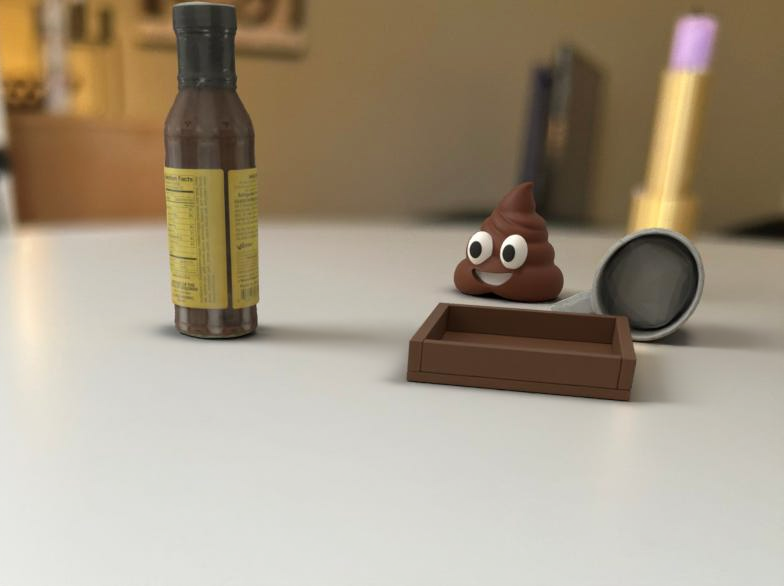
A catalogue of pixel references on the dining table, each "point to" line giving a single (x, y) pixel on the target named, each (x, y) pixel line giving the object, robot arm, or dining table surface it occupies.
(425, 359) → the walnut tray
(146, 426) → the dining table surface
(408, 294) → the dining table surface
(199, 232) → the sauce bottle
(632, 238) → the ceramic mug
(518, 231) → the poop emoji
